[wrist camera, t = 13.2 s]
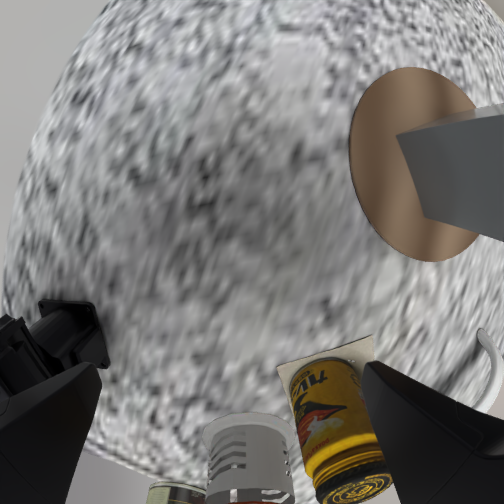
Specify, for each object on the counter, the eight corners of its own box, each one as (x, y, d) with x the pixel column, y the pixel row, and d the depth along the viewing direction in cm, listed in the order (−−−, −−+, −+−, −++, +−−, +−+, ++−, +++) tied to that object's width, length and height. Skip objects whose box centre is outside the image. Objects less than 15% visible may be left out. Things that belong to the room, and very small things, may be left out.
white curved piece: (376, 468, 28) (390, 503, 21) (321, 458, 26) (332, 503, 19) (496, 348, 24) (527, 375, 17) (466, 310, 22) (509, 342, 15)
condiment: (275, 365, 22) (296, 490, 10) (371, 334, 21) (443, 433, 10) (294, 417, 24) (314, 521, 12) (375, 390, 23) (424, 481, 12)
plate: (346, 263, 20) (349, 266, 19) (341, 51, 16) (343, 48, 15) (486, 256, 20) (489, 258, 19) (485, 95, 16) (489, 95, 16)
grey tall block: (424, 217, 18) (578, 272, 5) (395, 135, 17) (562, 108, 3) (474, 187, 18) (606, 214, 4) (450, 114, 16) (587, 94, 3)
